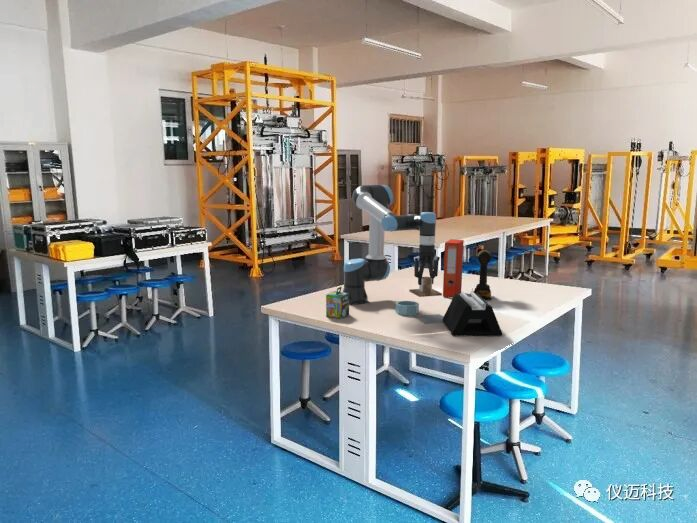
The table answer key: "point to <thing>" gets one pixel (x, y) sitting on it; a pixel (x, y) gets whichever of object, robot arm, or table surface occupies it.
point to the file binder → (453, 267)
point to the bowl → (407, 308)
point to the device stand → (471, 317)
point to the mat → (430, 318)
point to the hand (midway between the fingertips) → (425, 290)
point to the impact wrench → (483, 275)
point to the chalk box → (337, 304)
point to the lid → (426, 289)
